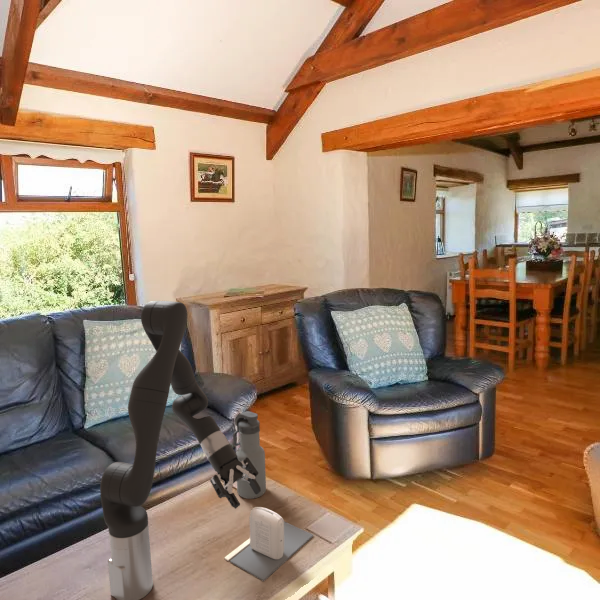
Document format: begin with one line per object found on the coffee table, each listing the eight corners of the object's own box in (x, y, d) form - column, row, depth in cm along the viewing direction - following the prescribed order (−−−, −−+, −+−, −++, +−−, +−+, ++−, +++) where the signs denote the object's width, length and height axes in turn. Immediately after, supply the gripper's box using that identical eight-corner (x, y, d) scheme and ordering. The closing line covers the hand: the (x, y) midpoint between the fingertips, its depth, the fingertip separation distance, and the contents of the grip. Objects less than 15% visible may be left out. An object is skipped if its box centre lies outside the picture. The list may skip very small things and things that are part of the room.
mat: (263, 581, 122) (263, 579, 122) (224, 559, 131) (224, 557, 131) (313, 536, 140) (313, 534, 140) (275, 518, 148) (275, 517, 148)
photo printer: (287, 553, 132) (285, 512, 130) (277, 562, 128) (276, 520, 126) (257, 540, 137) (256, 500, 135) (248, 548, 134) (246, 508, 132)
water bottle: (230, 492, 163) (227, 414, 159) (251, 480, 171) (248, 405, 166) (251, 503, 157) (248, 422, 152) (271, 490, 164) (269, 412, 160)
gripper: (205, 453, 132) (237, 506, 127) (241, 435, 144) (271, 483, 138) (194, 466, 136) (223, 517, 131) (230, 447, 147) (258, 494, 142)
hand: (248, 499), depth 135 cm, fingers open, 8 cm apart
